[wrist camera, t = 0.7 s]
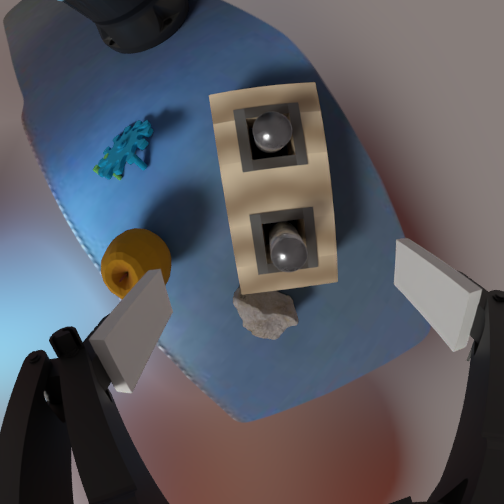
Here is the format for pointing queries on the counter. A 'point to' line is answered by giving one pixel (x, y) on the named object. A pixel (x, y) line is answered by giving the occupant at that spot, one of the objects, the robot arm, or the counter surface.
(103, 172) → the teal knobby branched piece
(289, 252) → the steel peg far
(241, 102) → the socket block
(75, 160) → the counter surface
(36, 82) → the counter surface
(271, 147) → the steel peg near
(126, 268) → the apple
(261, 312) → the stone
